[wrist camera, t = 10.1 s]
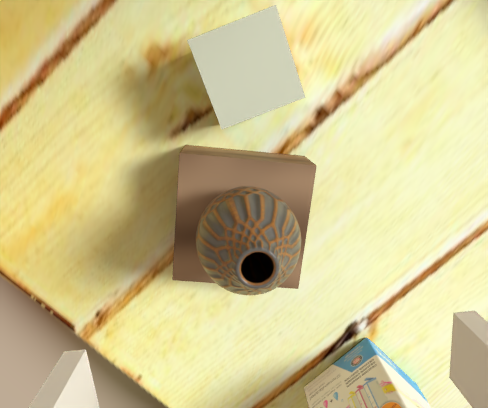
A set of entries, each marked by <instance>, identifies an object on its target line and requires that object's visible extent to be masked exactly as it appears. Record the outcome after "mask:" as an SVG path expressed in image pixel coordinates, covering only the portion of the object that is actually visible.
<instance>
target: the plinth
mask: <svg viewBox="0 0 488 408" xmlns="http://www.w3.org/2000/svg"><path fill="white" fill-rule="evenodd" d="M315 172H316V165H315V164H314V163H312V162H311V161H310V160H309V159H307V158H306V157H305V156H298V155H287V154H277V153H266V152H255V151H245V150H234V149H223V148H212V147H202V146H191V145H185V147H184V148H183V149H182V151H181V152H180V154H179V172H178V190H177V208H176V226H175V244H174V262H173V280H180V281H194V282H209V283H216V282H214V281H213V280H212V279H211V278H210V276H209V275H208V274H207V273H206V271H205V270H204V268H203V266H202V264H201V262H200V260H199V257H198V254H197V249H196V231H197V226H198V223H199V220H200V217H201V215H202V213H203V211H204V210H205V208H206V207H207V206H208V204H209V203H210V202H211V201H212V200H213V199H214V198H216V197H217V196H218V195H220V194H221V193H223V192H225V191H227V190H230V189H233V188H237V187H243V186H252V187H258V188H262V189H265V190H268V191H270V192H272V193H273V194H275V195H277V196H278V197H279V198H281V199H282V200H283V201H284V202H285V203H286V204H287V205H288V206H289V208H290V209H291V210H292V212H293V213H294V215H295V217H296V219H297V222H298V225H299V228H300V233H301V250H300V255H299V259H298V262H297V264H296V266H295V268H294V270H293V272H292V273H291V275H290V276H289V277H288V278H287V279H286V280H285V281H284V282H283V283H282V284H281V285H279V286H278V287H282V288H296V289H298V286H299V280H300V273H301V266H302V259H303V253H304V246H305V239H306V233H307V226H308V219H309V212H310V206H311V199H312V192H313V186H314V179H315Z"/></svg>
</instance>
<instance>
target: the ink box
mask: <svg viewBox="0 0 488 408" xmlns="http://www.w3.org/2000/svg"><path fill="white" fill-rule="evenodd" d="M304 391H305V395H306V398H307V402H308V406H309V408H431V407H430V405H429V403H428V402H427V400H426V398H425V397H424V395H423V394H422V392H421V391H420V389H419V387H418V386H417V384H416V383H415V382H414V381H412V380H411V379H410V378H409V377H408V376H407V375H406V374H405V373H404V372H403V371H402V370H401V369H400V368H399V367H398V366H397V365H396V364H395V363H394V362H393V361H392V360H391V359H390V358H389V357H388V356H387V355H386V354H385V353H384V352H382V351H381V350H380V349H379V348H378V347H377V346H376V345H375V344H374V343H373V342H372V341H370V340H369V339H368V338H365V339H363V340H362V341H361V342H360V343H358V344H357V345H356V346H355V347H353V348H352V349H351V350H350V351H349V352H347V353H346V354H345V355H343V356H342V357H341V358H340V359H339V360H337V361H336V362H335V363H333V364H332V365H331V366H330V367H328V368H327V369H326V370H325V371H324V372H322V373H321V374H320V375H319V376H317V377H316V378H315V379H314V380H312V381H311V382H310V383H309V384H307V385H306V386H305V387H304Z"/></svg>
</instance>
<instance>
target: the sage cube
mask: <svg viewBox="0 0 488 408" xmlns="http://www.w3.org/2000/svg"><path fill="white" fill-rule="evenodd" d="M187 41H188V43H189V46H190V49H191V51H192V54H193V56H194V59H195V62H196V64H197V67H198V69H199V72H200V75H201V77H202V80H203V82H204V85H205V88H206V90H207V93H208V95H209V98H210V101H211V103H212V106H213V108H214V111H215V114H216V116H217V119H218V121H219V124H220V127H221V129H224V128H227V127H229V126H232V125H235V124H237V123H240V122H242V121H245V120H248V119H250V118H253V117H255V116H258V115H261V114H263V113H266V112H268V111H271V110H274V109H276V108H279V107H281V106H284V105H287V104H289V103H292V102H294V101H297V100H300V99H302V98H305V95H304V92H303V89H302V86H301V82H300V79H299V76H298V73H297V70H296V67H295V64H294V60H293V57H292V54H291V51H290V48H289V45H288V42H287V39H286V35H285V32H284V29H283V26H282V23H281V20H280V17H279V13H278V10H277V7H276V5H274V6H272V7H269V8H267V9H264V10H262V11H259V12H257V13H254V14H252V15H249V16H247V17H244V18H242V19H239V20H237V21H234V22H232V23H229V24H227V25H224V26H222V27H219V28H217V29H214V30H212V31H209V32H207V33H204V34H202V35H199V36H197V37H194V38H192V39H189V40H187Z"/></svg>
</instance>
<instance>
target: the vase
mask: <svg viewBox="0 0 488 408" xmlns="http://www.w3.org/2000/svg"><path fill="white" fill-rule="evenodd" d="M196 249H197V254H198V257H199V260H200V262H201V264H202V266H203V268H204V270H205V271H206V273H207V274H208V275H209V276H210V278H211V279H212V280H213V281H214V282H216V283H217V284H218V285H220V286H221V287H223V288H224V289H226V290H228V291H230V292H233V293H237V294H241V295H258V294H263V293H266V292H269V291H271V290H273V289H275V288H276V287H278V286H279V285H281V284H282V283H283V282H284V281H285V280H286V279H287V278H288V277H289V276H290V275H291V273H292V272H293V270H294V268H295V266H296V264H297V262H298V259H299V255H300V250H301V233H300V228H299V225H298V222H297V219H296V217H295V215H294V213H293V212H292V210H291V209H290V208H289V206H288V205H287V204H286V203H285V202H284V201H283V200H282V199H281V198H279V197H278V196H277V195H275V194H273V193H272V192H270V191H268V190H265V189H262V188H258V187H252V186H243V187H237V188H233V189H230V190H227V191H225V192H223V193H221V194H220V195H218V196H217V197H216V198H214V199H213V200H212V201H211V202H210V203H209V204H208V206H207V207H206V208H205V210H204V211H203V213H202V215H201V217H200V220H199V223H198V226H197V231H196Z"/></svg>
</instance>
